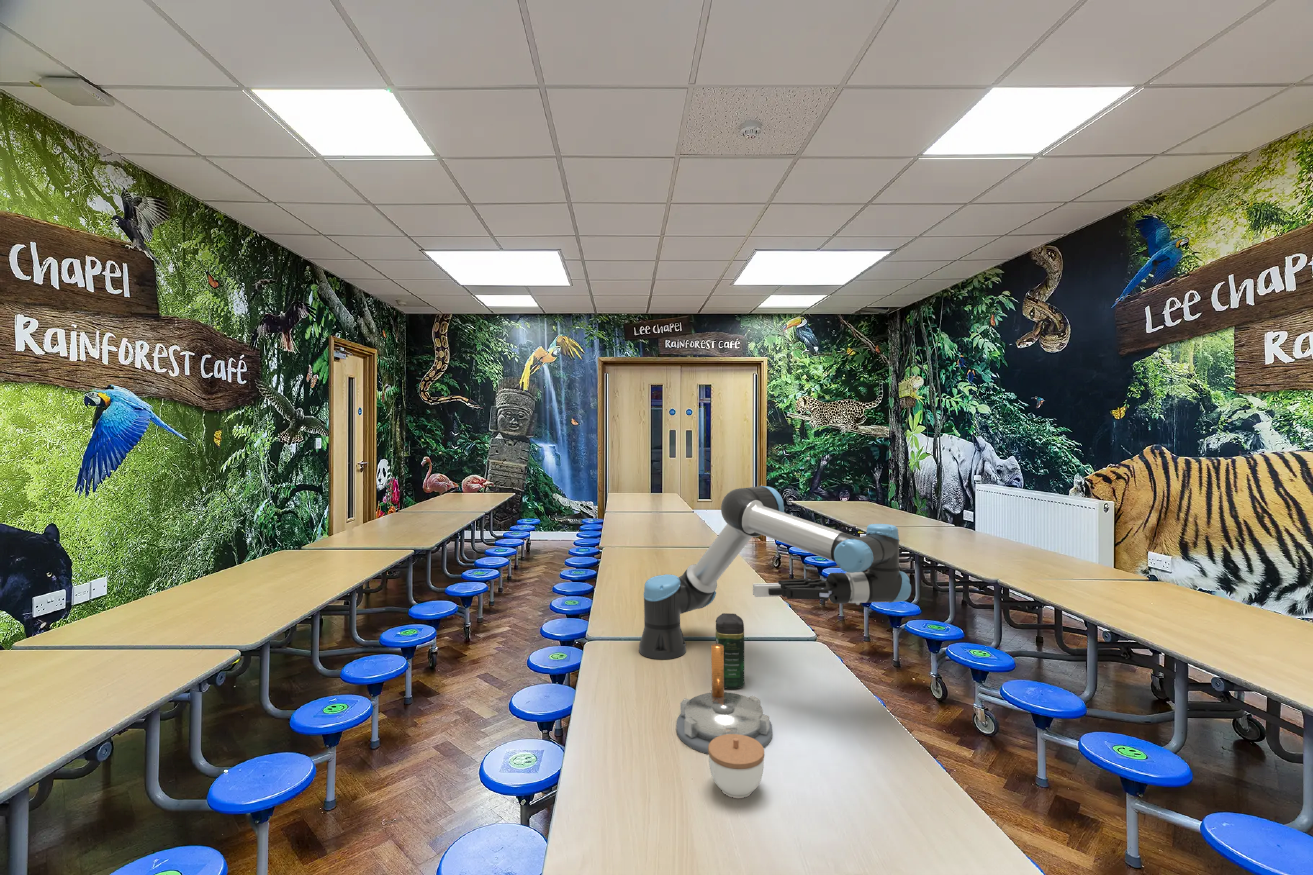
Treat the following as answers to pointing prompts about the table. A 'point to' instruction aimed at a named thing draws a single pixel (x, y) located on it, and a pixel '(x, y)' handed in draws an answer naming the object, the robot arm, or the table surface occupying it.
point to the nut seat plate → (703, 744)
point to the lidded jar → (736, 764)
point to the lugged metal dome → (722, 708)
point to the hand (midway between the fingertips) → (754, 590)
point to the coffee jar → (731, 648)
